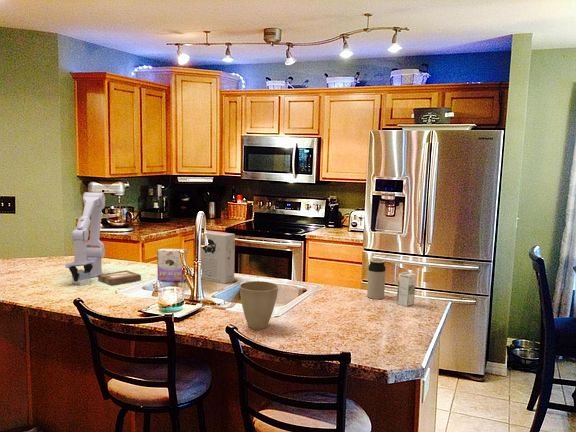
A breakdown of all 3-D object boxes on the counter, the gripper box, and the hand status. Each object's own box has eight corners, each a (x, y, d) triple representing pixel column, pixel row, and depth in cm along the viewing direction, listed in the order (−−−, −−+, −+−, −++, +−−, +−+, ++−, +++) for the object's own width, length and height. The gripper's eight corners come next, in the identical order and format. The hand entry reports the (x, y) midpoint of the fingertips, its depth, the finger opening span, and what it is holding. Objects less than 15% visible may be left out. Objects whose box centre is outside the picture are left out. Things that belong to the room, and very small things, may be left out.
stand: (98, 280, 260) (98, 274, 259) (126, 275, 271) (126, 270, 271) (112, 285, 250) (111, 279, 250) (140, 280, 262) (140, 274, 262)
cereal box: (234, 281, 267) (235, 233, 264) (225, 283, 260) (225, 235, 258) (203, 275, 278) (203, 229, 275) (193, 277, 272) (193, 231, 269)
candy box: (186, 279, 266) (186, 248, 265) (183, 282, 261) (183, 250, 259) (160, 278, 268) (160, 247, 266) (157, 281, 262) (156, 249, 260)
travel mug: (387, 297, 243) (389, 260, 241) (378, 300, 237) (379, 262, 235) (373, 294, 248) (374, 257, 246) (363, 297, 242) (365, 259, 240)
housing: (72, 282, 254) (71, 270, 254) (81, 281, 258) (81, 269, 257) (80, 286, 248) (80, 273, 248) (90, 284, 252) (90, 272, 251)
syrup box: (403, 301, 236) (404, 271, 234) (414, 304, 232) (416, 273, 230) (396, 304, 232) (398, 272, 230) (407, 307, 228) (409, 275, 226)
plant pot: (246, 334, 187) (246, 292, 185) (233, 322, 200) (234, 282, 199) (283, 330, 193) (284, 289, 191) (269, 318, 206) (269, 279, 205)
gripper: (69, 256, 243) (70, 284, 245) (98, 252, 254) (98, 279, 256) (63, 254, 248) (63, 281, 250) (91, 250, 259) (92, 276, 260)
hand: (81, 280), depth 253 cm, fingers closed on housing, 5 cm apart
